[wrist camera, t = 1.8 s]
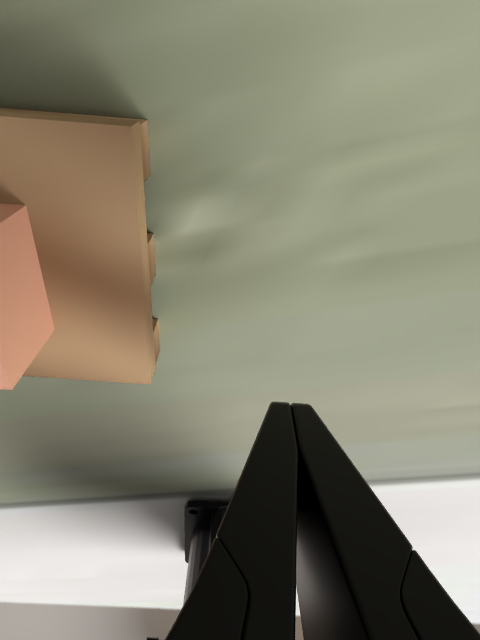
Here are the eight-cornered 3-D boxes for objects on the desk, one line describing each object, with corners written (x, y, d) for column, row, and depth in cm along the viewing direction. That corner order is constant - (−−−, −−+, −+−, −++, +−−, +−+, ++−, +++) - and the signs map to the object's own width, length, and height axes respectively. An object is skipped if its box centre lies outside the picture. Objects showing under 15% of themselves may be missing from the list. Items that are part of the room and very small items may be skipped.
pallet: (161, 348, 17) (150, 384, 15) (-52, 333, 17) (-88, 367, 15) (149, 114, 12) (130, 126, 10) (-153, 90, 12) (-225, 98, 10)
